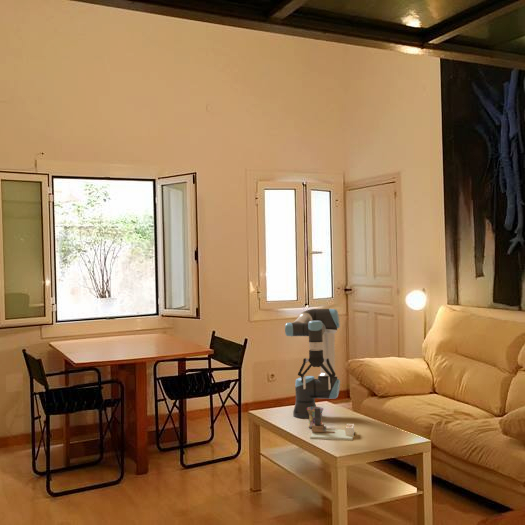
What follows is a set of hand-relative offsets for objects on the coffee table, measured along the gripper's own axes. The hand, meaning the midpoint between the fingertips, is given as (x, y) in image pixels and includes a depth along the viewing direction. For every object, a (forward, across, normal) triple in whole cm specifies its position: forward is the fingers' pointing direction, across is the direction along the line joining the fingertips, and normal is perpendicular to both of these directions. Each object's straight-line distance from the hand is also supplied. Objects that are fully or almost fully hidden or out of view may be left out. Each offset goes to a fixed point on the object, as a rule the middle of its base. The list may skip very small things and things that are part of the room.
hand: (317, 389), depth 332 cm
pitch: (+24, +8, -1) cm, 26 cm away
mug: (+25, -4, +15) cm, 29 cm away
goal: (+24, +17, 0) cm, 30 cm away
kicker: (+22, +1, 0) cm, 22 cm away
